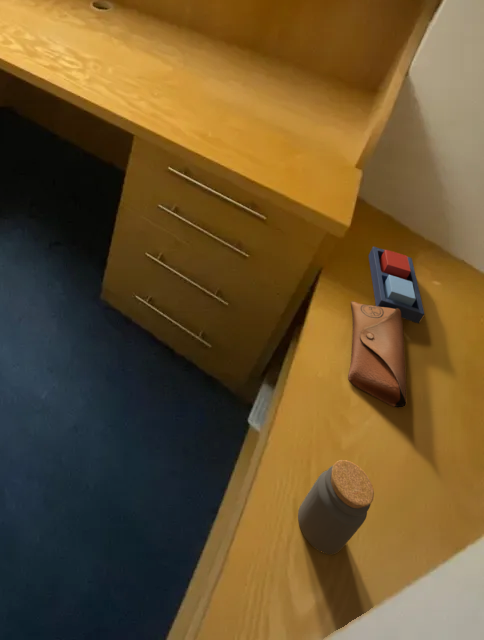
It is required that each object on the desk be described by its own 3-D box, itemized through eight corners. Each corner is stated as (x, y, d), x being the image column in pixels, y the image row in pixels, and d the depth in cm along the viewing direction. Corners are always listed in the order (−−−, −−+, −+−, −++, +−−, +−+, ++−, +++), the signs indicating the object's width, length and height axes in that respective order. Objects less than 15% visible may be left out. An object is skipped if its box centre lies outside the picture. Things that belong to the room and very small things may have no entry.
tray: (406, 267, 108) (411, 257, 106) (418, 323, 97) (424, 314, 96) (368, 255, 110) (372, 246, 109) (376, 309, 100) (381, 300, 98)
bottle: (335, 505, 74) (368, 459, 66) (349, 560, 69) (387, 517, 61) (292, 496, 75) (321, 450, 67) (303, 549, 70) (335, 506, 62)
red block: (400, 268, 107) (407, 255, 105) (403, 284, 103) (410, 271, 101) (378, 261, 108) (384, 249, 106) (381, 276, 105) (387, 264, 103)
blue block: (404, 294, 102) (412, 281, 100) (408, 311, 99) (416, 299, 97) (381, 286, 103) (388, 274, 101) (384, 303, 100) (391, 291, 98)
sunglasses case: (348, 297, 101) (377, 287, 97) (377, 322, 100) (408, 313, 96) (346, 383, 88) (380, 376, 83) (380, 412, 87) (416, 407, 82)
